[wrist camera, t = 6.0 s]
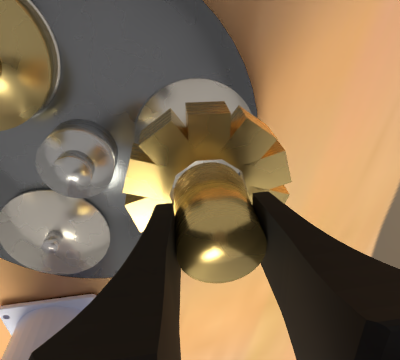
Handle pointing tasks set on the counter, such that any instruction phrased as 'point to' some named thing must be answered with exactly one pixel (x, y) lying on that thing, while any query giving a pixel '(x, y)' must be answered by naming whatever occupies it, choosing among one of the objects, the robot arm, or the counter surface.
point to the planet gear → (208, 185)
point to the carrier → (95, 117)
